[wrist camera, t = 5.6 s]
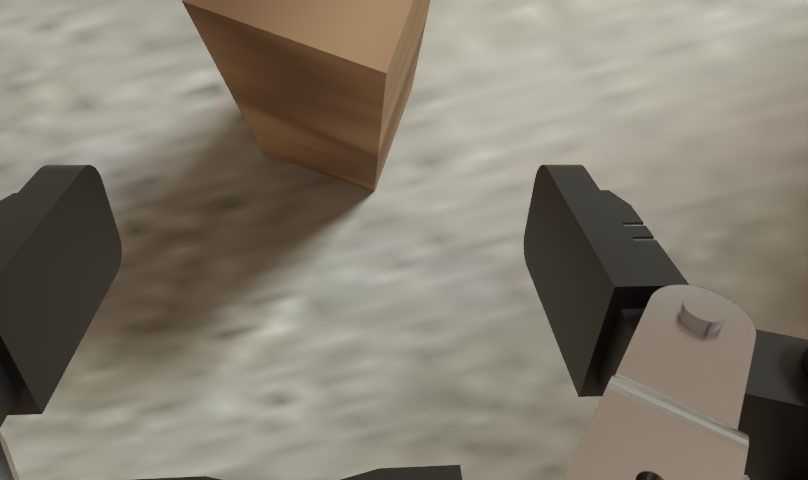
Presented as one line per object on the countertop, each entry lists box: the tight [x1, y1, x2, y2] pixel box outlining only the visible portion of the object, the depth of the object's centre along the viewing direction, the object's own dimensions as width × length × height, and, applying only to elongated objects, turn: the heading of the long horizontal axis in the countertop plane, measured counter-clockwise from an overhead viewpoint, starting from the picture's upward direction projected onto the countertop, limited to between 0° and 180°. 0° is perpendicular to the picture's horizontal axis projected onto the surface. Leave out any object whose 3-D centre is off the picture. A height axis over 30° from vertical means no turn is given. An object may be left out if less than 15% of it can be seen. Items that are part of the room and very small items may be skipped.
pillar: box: [182, 0, 430, 191], centre depth 17 cm, size 4×4×10 cm
